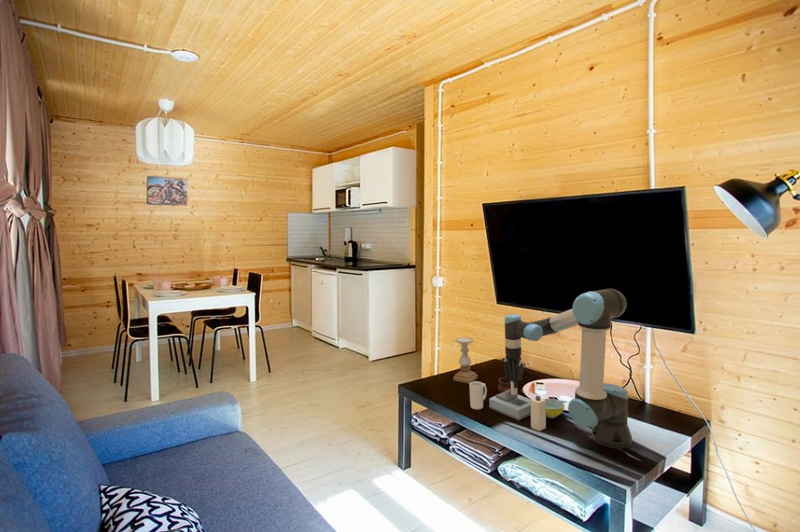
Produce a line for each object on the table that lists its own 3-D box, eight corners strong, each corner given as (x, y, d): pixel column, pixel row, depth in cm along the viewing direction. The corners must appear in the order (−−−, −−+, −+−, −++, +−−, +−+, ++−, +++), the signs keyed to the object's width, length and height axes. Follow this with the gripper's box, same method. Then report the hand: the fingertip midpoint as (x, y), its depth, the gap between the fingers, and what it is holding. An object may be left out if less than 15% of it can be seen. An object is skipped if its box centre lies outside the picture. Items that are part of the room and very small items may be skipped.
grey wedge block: (517, 397, 217) (517, 387, 216) (507, 401, 212) (507, 392, 212) (505, 392, 223) (505, 383, 222) (495, 396, 218) (495, 387, 218)
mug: (475, 411, 215) (475, 387, 214) (467, 406, 221) (466, 383, 220) (491, 405, 220) (490, 382, 219) (482, 401, 226) (482, 378, 225)
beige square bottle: (545, 428, 195) (545, 396, 194) (539, 431, 193) (539, 399, 191) (537, 424, 199) (536, 393, 197) (530, 427, 196) (530, 396, 195)
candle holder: (452, 380, 257) (451, 340, 254) (461, 374, 266) (460, 336, 263) (469, 383, 250) (468, 343, 248) (478, 377, 259) (477, 338, 257)
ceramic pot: (522, 386, 244) (521, 373, 243) (524, 399, 227) (523, 386, 226) (489, 385, 248) (488, 373, 247) (488, 398, 231) (488, 386, 230)
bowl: (558, 424, 199) (558, 411, 198) (534, 417, 206) (534, 404, 206) (568, 415, 207) (568, 402, 206) (544, 408, 215) (544, 396, 214)
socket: (537, 411, 212) (537, 401, 211) (518, 420, 203) (518, 410, 203) (508, 400, 226) (507, 390, 226) (489, 408, 218) (489, 398, 217)
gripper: (529, 347, 208) (530, 395, 210) (507, 342, 218) (508, 387, 221) (519, 351, 203) (519, 400, 206) (497, 345, 214) (498, 391, 216)
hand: (514, 393), depth 213 cm, fingers closed
